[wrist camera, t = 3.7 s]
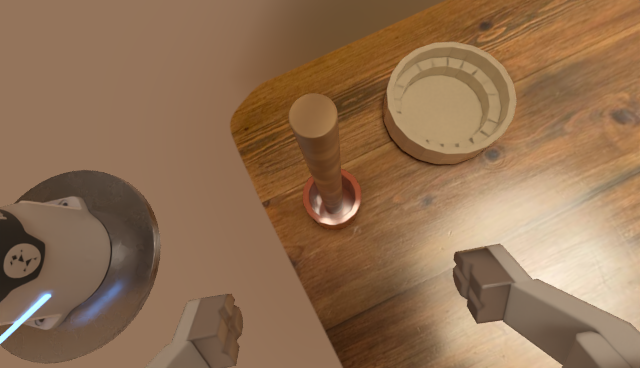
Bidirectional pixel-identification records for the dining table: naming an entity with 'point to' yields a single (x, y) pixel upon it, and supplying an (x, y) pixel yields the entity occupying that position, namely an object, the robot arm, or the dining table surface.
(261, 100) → the dining table surface
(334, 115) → the stick
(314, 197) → the utensil pot
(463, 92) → the bowl
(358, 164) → the dining table surface
